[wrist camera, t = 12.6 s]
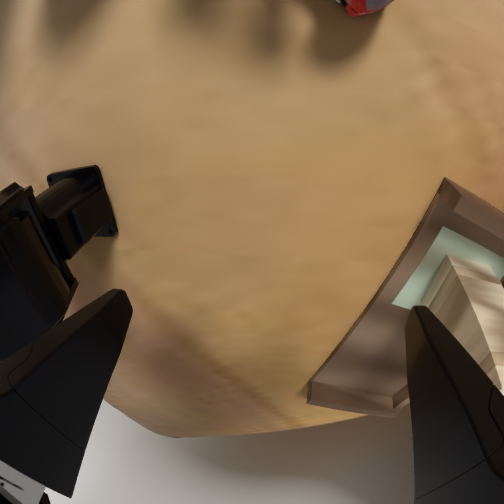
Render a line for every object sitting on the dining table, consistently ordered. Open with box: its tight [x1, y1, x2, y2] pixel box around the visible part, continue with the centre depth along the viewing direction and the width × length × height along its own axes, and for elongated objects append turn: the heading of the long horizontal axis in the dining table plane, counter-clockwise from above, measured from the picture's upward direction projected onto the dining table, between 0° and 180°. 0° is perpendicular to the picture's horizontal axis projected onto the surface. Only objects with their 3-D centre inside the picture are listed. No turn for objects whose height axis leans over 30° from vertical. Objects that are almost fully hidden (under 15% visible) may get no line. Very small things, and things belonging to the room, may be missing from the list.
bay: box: [307, 178, 504, 418], centre depth 24 cm, size 26×12×3 cm, turn 165°
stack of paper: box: [420, 254, 504, 395], centre depth 16 cm, size 5×5×12 cm
